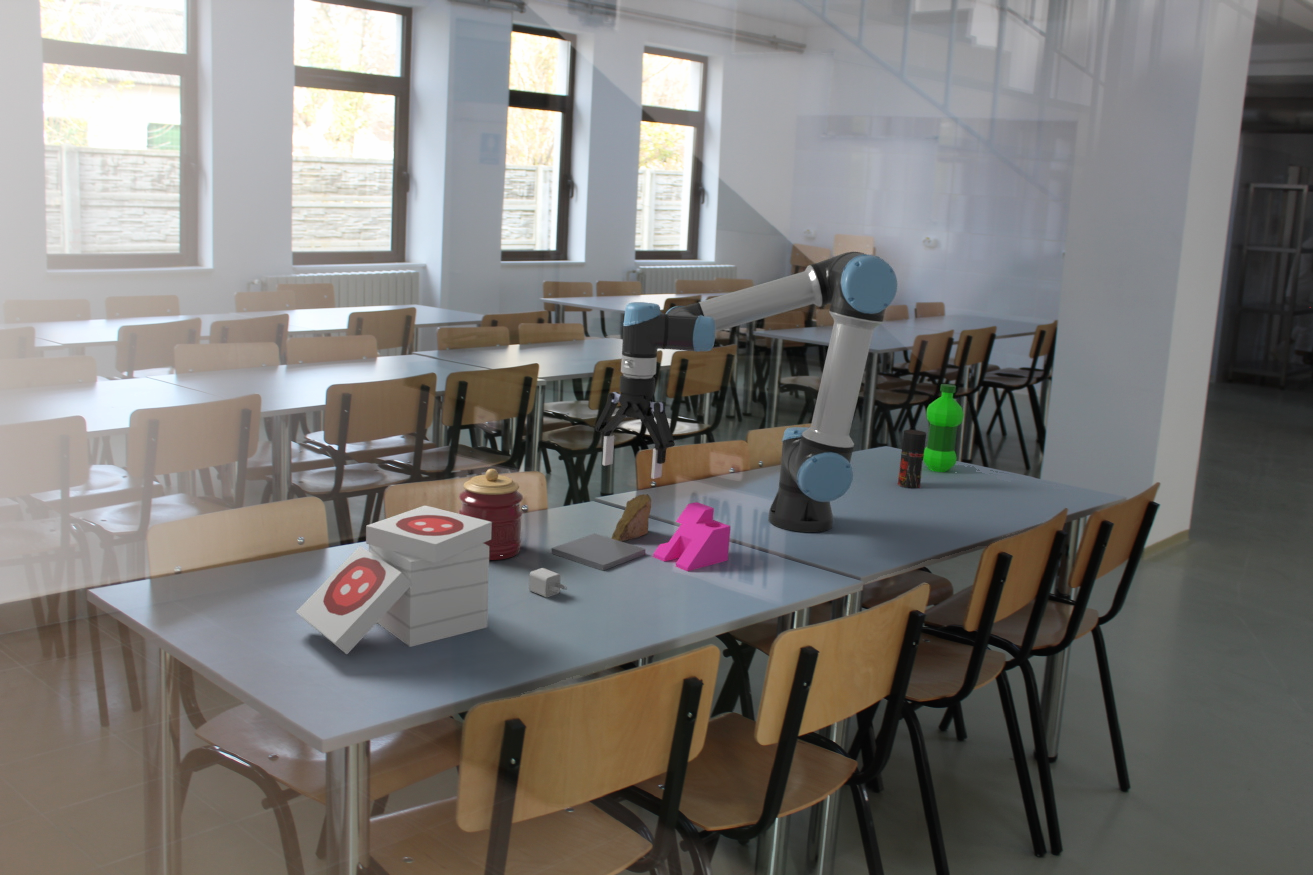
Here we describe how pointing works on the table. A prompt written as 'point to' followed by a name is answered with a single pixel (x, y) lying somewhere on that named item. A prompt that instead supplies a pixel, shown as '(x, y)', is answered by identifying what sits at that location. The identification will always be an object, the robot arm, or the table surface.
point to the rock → (634, 519)
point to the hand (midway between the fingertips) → (631, 470)
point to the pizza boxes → (408, 581)
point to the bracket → (696, 539)
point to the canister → (495, 511)
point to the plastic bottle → (942, 430)
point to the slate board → (598, 551)
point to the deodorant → (911, 459)
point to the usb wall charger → (545, 582)
